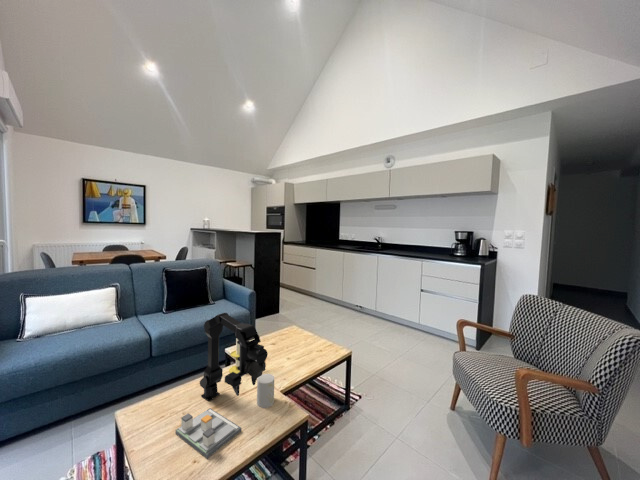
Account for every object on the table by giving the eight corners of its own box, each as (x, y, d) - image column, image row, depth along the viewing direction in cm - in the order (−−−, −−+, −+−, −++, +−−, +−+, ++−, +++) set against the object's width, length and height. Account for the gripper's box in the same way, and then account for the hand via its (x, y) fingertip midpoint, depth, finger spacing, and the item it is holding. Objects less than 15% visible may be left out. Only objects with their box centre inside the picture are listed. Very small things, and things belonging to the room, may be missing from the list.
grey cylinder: (270, 409, 125) (270, 384, 124) (254, 406, 127) (254, 382, 126) (276, 398, 133) (276, 375, 132) (261, 395, 135) (261, 372, 134)
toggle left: (181, 427, 109) (181, 417, 109) (188, 422, 112) (188, 413, 111) (185, 430, 108) (185, 420, 107) (192, 425, 110) (192, 416, 110)
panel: (175, 433, 109) (175, 428, 109) (209, 411, 123) (209, 406, 122) (207, 458, 98) (207, 452, 98) (241, 431, 111) (241, 425, 111)
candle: (239, 363, 165) (239, 320, 164) (250, 368, 159) (250, 324, 158) (225, 370, 157) (225, 325, 155) (236, 376, 151) (236, 329, 150)
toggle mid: (200, 428, 109) (201, 418, 108) (207, 424, 111) (207, 414, 111) (205, 431, 107) (205, 421, 107) (212, 427, 110) (212, 417, 109)
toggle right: (202, 443, 101) (202, 432, 101) (209, 438, 104) (209, 427, 104) (207, 446, 100) (207, 436, 100) (214, 441, 102) (214, 431, 102)
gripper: (242, 370, 103) (242, 409, 104) (275, 352, 119) (274, 385, 120) (223, 362, 109) (223, 398, 110) (256, 345, 125) (256, 377, 126)
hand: (245, 389), depth 116 cm, fingers open, 9 cm apart
